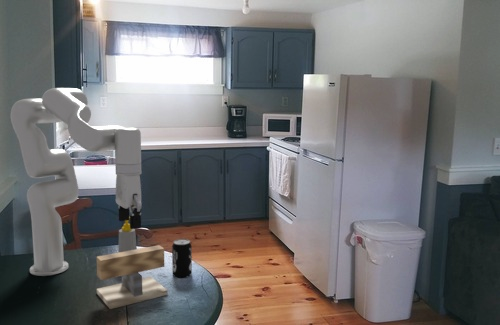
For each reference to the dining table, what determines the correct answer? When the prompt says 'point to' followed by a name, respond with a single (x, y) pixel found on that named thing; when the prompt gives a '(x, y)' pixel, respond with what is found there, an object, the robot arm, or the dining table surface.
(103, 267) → the oak beam
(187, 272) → the beverage can
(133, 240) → the soap bottle
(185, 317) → the dining table surface
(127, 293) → the ridge stand
